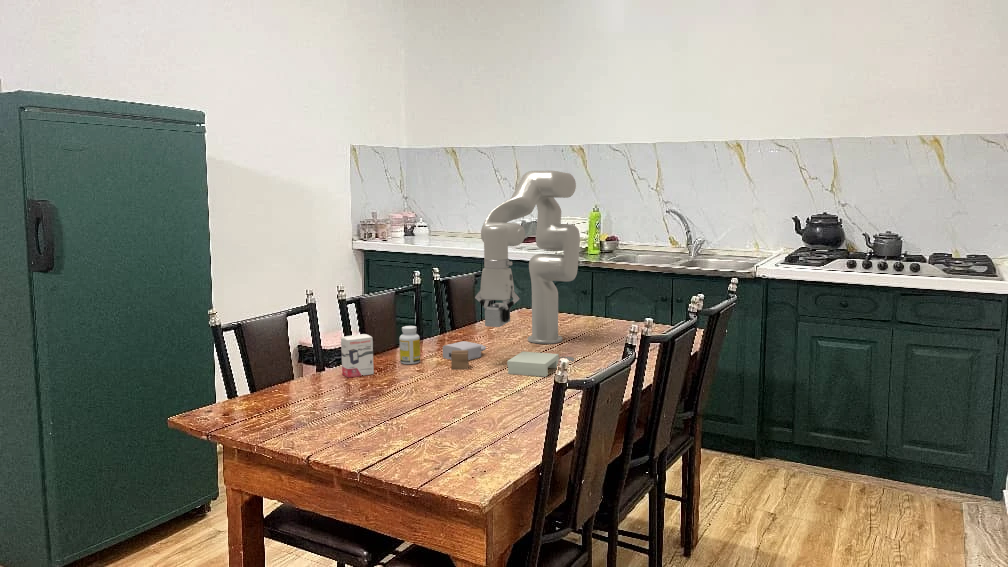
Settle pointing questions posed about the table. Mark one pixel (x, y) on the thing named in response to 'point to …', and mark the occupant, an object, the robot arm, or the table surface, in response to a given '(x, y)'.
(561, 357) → the grey disc
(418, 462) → the table surface
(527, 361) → the stand
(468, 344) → the charger
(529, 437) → the table surface
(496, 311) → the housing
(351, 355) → the white product box
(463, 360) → the walnut block
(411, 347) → the pill bottle
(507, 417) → the table surface
